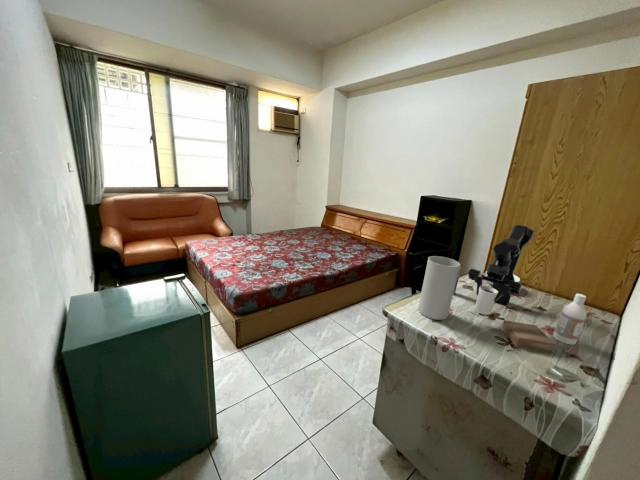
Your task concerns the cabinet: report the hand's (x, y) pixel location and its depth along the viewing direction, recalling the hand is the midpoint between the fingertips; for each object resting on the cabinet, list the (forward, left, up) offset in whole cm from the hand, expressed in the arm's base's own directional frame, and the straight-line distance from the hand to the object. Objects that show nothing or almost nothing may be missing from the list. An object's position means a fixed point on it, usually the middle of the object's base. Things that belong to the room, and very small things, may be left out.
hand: (485, 297), depth 107 cm
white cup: (0, +1, -7) cm, 7 cm away
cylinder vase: (-18, -4, -13) cm, 22 cm away
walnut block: (+16, +1, -13) cm, 21 cm away
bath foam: (+29, +13, -13) cm, 35 cm away
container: (-16, +25, -13) cm, 33 cm away
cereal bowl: (+5, +57, -13) cm, 59 cm away
